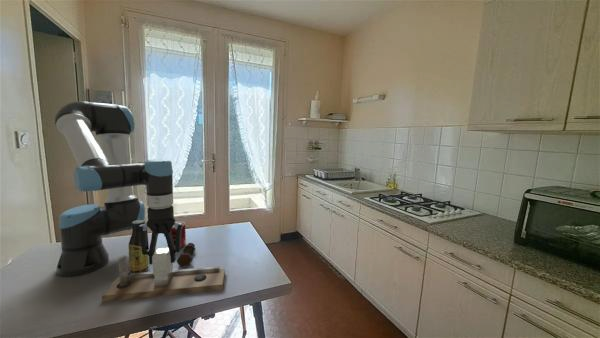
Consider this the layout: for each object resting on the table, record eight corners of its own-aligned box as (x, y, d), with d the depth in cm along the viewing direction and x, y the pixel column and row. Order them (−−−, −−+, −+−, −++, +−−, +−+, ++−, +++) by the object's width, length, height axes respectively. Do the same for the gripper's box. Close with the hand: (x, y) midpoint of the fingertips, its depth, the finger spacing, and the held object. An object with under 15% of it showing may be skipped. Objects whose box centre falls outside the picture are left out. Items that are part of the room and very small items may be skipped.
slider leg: (153, 286, 79) (152, 255, 78) (160, 276, 85) (158, 247, 84) (167, 285, 80) (165, 254, 79) (172, 275, 86) (171, 246, 85)
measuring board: (102, 301, 75) (99, 265, 73) (118, 282, 84) (116, 250, 83) (222, 289, 83) (222, 257, 81) (224, 273, 92) (224, 244, 91)
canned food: (180, 241, 118) (179, 219, 117) (189, 245, 114) (188, 223, 112) (164, 246, 112) (163, 224, 111) (172, 251, 108) (172, 228, 106)
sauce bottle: (125, 273, 90) (122, 222, 87) (141, 265, 96) (139, 217, 93) (137, 277, 88) (135, 225, 85) (153, 268, 94) (151, 220, 91)
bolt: (192, 253, 111) (186, 269, 97) (182, 248, 110) (174, 264, 95) (199, 242, 111) (194, 257, 97) (189, 237, 110) (182, 252, 95)
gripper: (125, 210, 74) (129, 280, 77) (185, 208, 77) (187, 275, 81) (136, 203, 81) (139, 267, 84) (190, 202, 85) (192, 264, 88)
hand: (163, 271), depth 82 cm, fingers closed on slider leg, 4 cm apart
